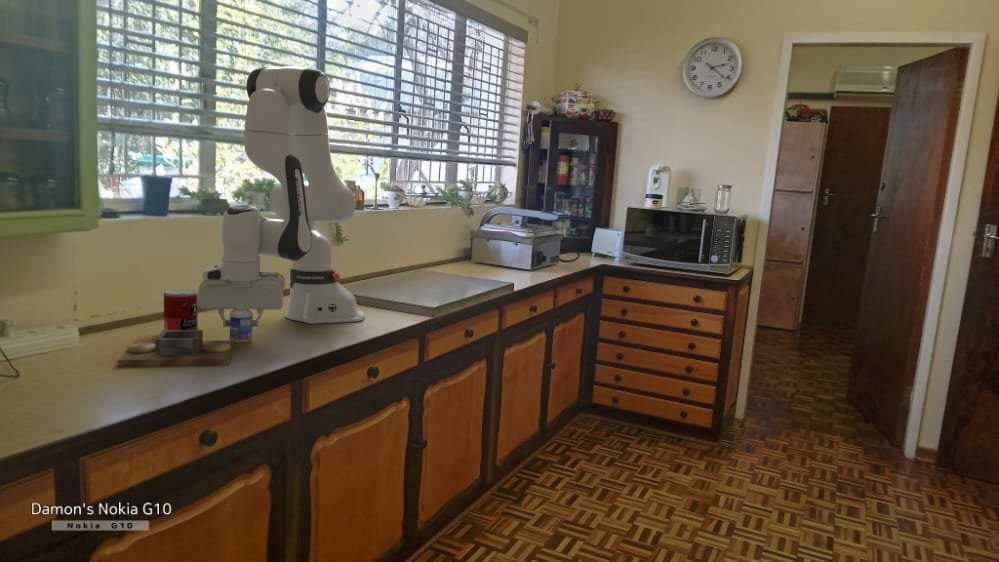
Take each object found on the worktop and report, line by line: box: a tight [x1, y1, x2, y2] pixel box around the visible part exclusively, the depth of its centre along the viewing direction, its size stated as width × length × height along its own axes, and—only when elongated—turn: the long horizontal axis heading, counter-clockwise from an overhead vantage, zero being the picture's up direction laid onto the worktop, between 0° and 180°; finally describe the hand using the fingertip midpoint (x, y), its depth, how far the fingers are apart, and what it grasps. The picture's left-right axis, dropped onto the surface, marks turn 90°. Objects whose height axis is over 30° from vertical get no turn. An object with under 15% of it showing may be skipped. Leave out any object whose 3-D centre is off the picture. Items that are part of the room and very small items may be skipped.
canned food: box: [163, 288, 199, 330], centre depth 182 cm, size 8×8×11 cm
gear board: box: [117, 329, 236, 368], centre depth 164 cm, size 22×16×5 cm
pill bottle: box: [229, 304, 254, 344], centre depth 180 cm, size 5×5×10 cm
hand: (241, 326), depth 180 cm, fingers closed on pill bottle, 5 cm apart
